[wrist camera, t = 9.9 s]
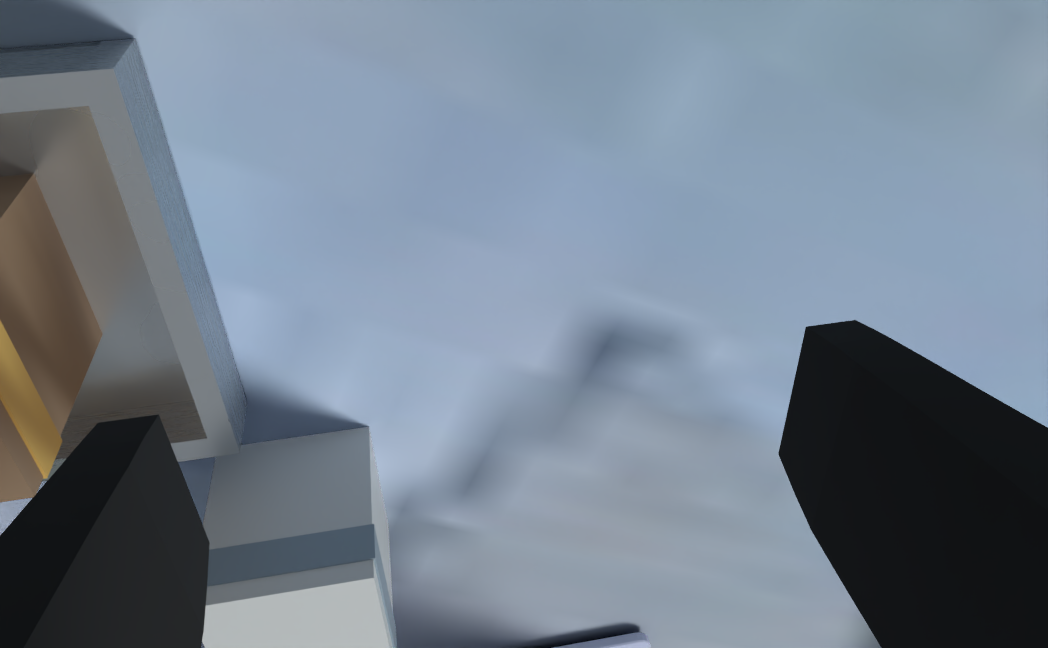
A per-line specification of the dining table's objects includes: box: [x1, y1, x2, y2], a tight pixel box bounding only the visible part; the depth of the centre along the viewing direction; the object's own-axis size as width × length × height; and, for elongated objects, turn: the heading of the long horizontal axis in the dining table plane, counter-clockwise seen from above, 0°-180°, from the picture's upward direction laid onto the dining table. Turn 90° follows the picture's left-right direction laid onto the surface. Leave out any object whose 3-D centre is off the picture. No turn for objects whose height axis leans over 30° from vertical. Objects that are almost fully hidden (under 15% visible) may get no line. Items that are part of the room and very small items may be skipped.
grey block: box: [202, 427, 397, 648], centre depth 21 cm, size 4×4×5 cm
